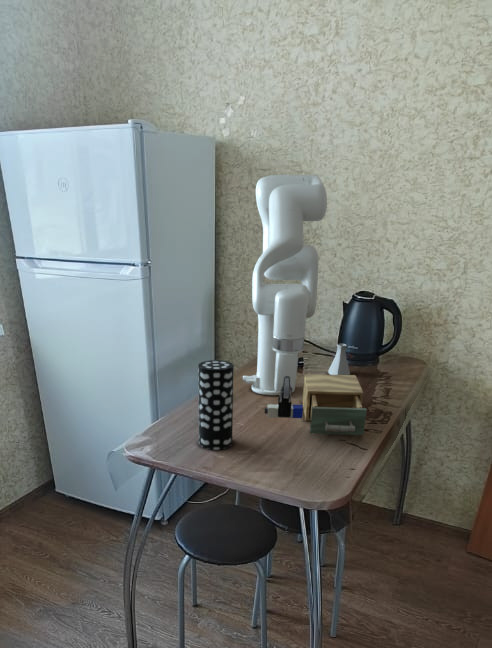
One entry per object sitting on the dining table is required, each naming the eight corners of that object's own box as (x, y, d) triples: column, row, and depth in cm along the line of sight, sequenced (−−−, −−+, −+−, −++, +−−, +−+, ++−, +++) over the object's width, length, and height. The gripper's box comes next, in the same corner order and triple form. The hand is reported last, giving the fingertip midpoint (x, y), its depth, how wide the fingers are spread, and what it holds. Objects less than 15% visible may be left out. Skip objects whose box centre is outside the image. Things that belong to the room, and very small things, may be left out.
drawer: (366, 443, 141) (370, 417, 138) (311, 441, 142) (313, 415, 139) (356, 415, 159) (358, 391, 156) (307, 413, 160) (308, 390, 157)
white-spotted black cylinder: (230, 436, 148) (232, 359, 139) (233, 449, 141) (234, 369, 132) (198, 436, 148) (197, 360, 139) (199, 450, 140) (198, 370, 131)
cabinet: (359, 422, 156) (363, 392, 152) (305, 421, 157) (307, 390, 154) (352, 403, 170) (355, 375, 166) (302, 402, 171) (304, 374, 167)
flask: (323, 372, 198) (326, 343, 194) (341, 369, 201) (344, 341, 197) (336, 378, 192) (339, 348, 188) (354, 375, 195) (357, 345, 191)
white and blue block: (264, 417, 148) (264, 407, 146) (264, 413, 150) (264, 403, 149) (302, 418, 147) (302, 408, 146) (301, 414, 149) (302, 404, 148)
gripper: (272, 334, 147) (269, 402, 156) (272, 352, 133) (269, 426, 141) (302, 335, 146) (297, 403, 155) (305, 353, 132) (300, 427, 141)
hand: (284, 413), depth 148 cm, fingers closed on white and blue block, 2 cm apart
